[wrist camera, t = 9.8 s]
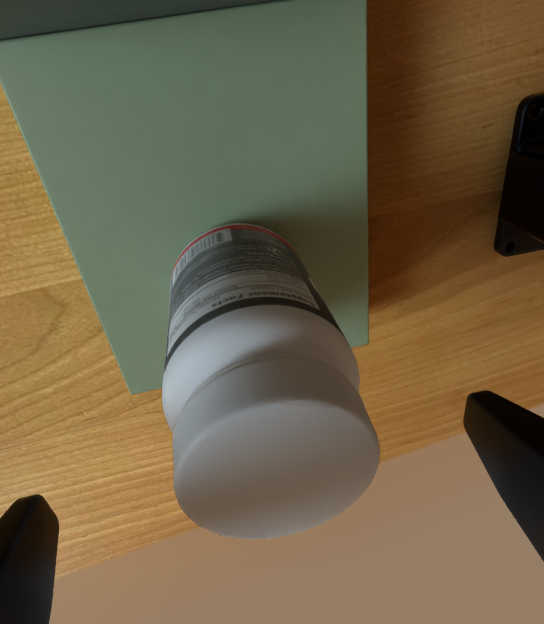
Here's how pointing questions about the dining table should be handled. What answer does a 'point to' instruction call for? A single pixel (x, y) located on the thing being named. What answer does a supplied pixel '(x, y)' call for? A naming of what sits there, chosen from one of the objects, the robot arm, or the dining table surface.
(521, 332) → the dining table surface
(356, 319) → the storage rack
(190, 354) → the pill bottle
